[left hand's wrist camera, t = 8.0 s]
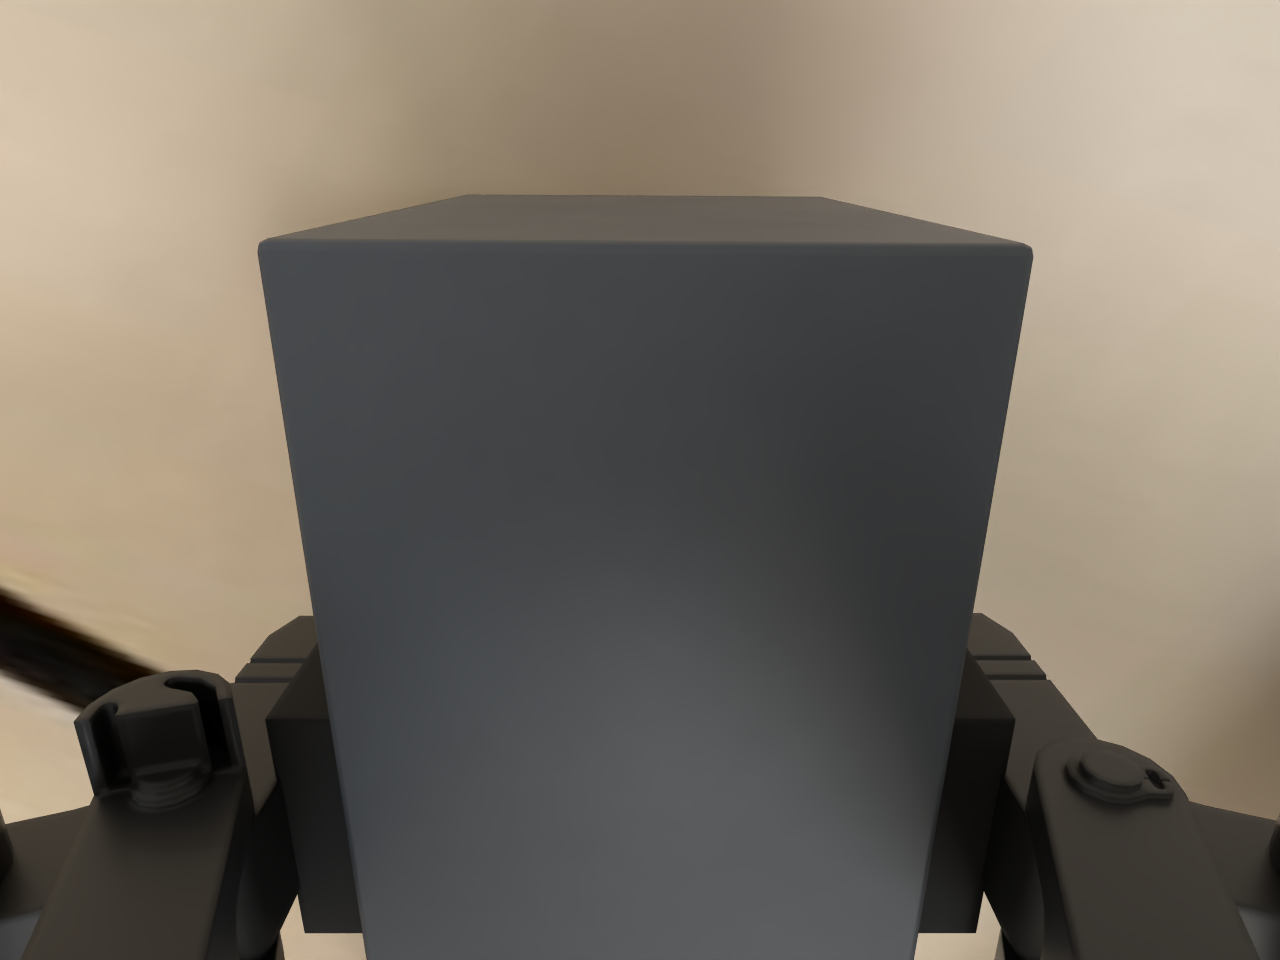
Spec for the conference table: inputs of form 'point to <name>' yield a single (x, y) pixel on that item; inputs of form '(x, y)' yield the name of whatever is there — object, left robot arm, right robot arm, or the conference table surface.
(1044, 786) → the left robot arm
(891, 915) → the post
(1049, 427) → the conference table surface
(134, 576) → the conference table surface
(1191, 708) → the conference table surface
